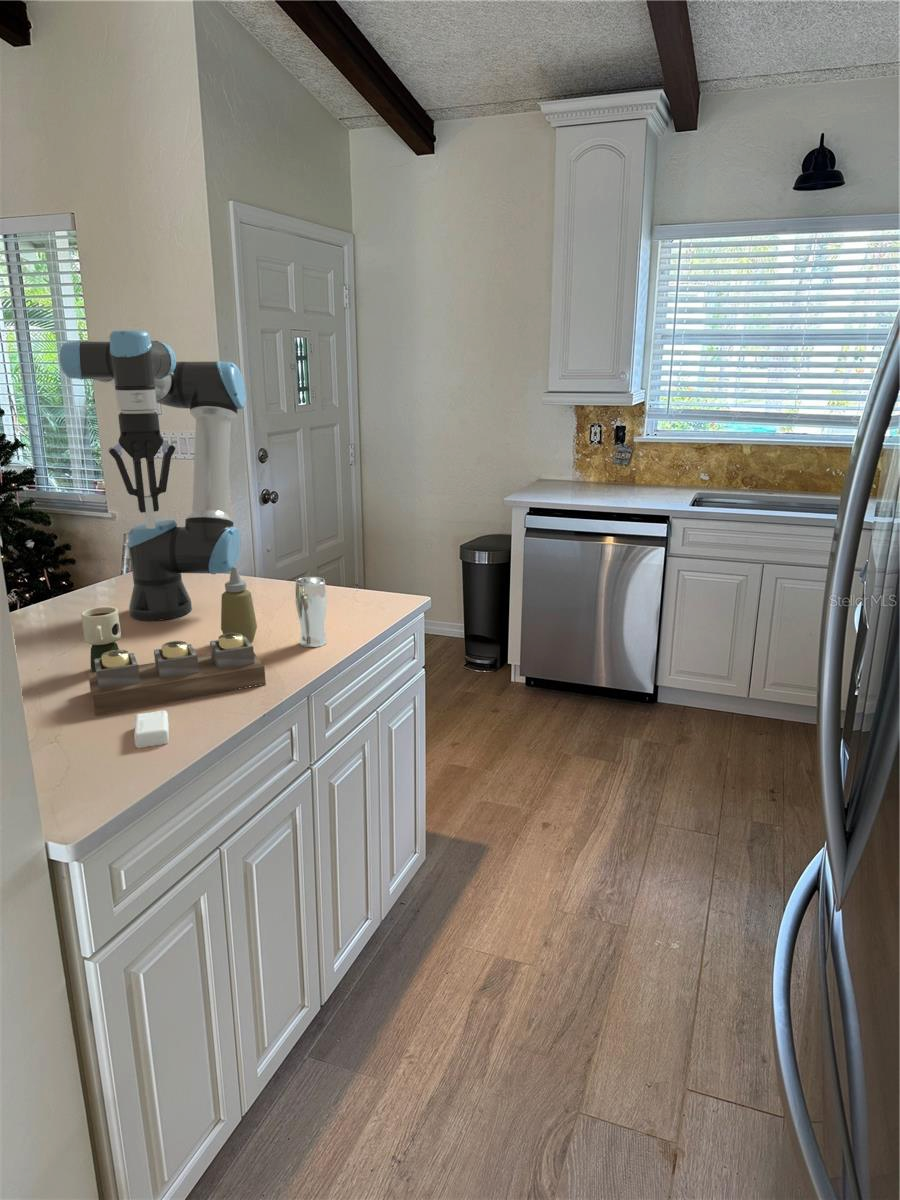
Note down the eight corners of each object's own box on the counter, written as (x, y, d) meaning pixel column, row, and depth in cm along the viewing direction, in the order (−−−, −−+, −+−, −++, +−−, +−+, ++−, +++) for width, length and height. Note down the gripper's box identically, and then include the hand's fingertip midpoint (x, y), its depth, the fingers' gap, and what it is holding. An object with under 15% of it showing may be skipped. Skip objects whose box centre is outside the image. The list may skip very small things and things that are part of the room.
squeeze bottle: (249, 649, 186) (243, 572, 180) (216, 647, 187) (209, 571, 182) (263, 637, 193) (258, 563, 188) (231, 635, 195) (225, 561, 190)
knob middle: (162, 666, 165) (159, 642, 163) (187, 662, 167) (184, 638, 165) (166, 675, 161) (163, 650, 159) (191, 670, 163) (189, 646, 161)
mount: (90, 691, 163) (85, 656, 161) (251, 664, 177) (248, 631, 175) (95, 715, 153) (90, 677, 151) (265, 684, 167) (263, 649, 165)
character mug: (123, 677, 171) (115, 617, 167) (85, 681, 169) (77, 621, 165) (127, 659, 181) (120, 602, 177) (92, 662, 179) (84, 605, 175)
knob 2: (218, 657, 170) (216, 634, 168) (241, 654, 172) (239, 630, 170) (223, 665, 166) (221, 641, 164) (247, 661, 168) (245, 637, 166)
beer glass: (334, 640, 191) (331, 578, 187) (317, 650, 185) (314, 586, 181) (309, 636, 194) (306, 575, 190) (292, 645, 188) (288, 582, 184)
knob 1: (103, 676, 160) (100, 651, 159) (129, 672, 162) (126, 647, 161) (105, 685, 156) (102, 659, 155) (132, 680, 158) (129, 655, 157)
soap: (169, 745, 142) (167, 729, 141) (135, 750, 141) (133, 734, 140) (168, 723, 150) (167, 708, 150) (137, 727, 149) (135, 712, 148)
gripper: (104, 414, 159) (119, 534, 166) (174, 411, 164) (186, 527, 171) (101, 411, 165) (115, 526, 172) (168, 409, 171) (180, 521, 178)
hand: (150, 527), depth 172 cm, fingers closed
